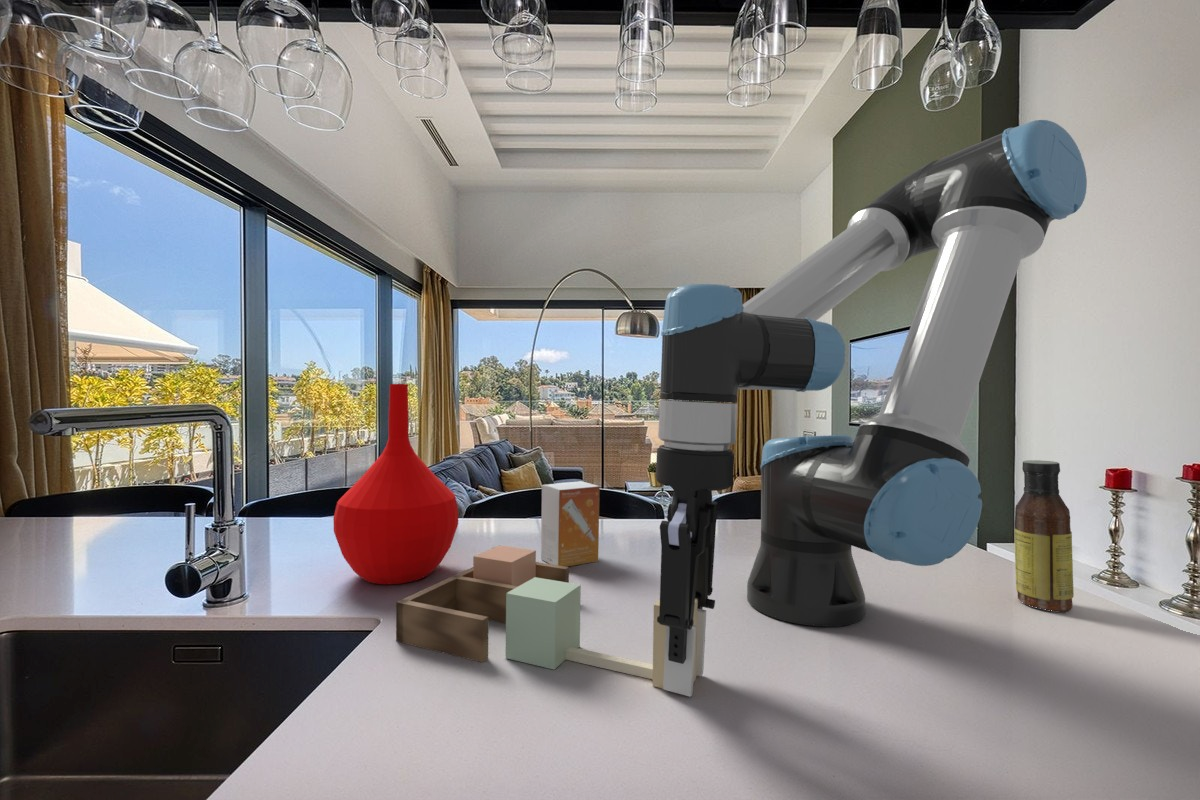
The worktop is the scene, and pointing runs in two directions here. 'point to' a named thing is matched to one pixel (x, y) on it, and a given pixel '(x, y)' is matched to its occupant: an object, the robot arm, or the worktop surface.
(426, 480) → the vase
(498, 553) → the terracotta block
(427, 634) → the lane rack
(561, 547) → the small box
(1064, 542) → the sauce bottle
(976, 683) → the worktop surface
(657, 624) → the tethered block
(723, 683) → the worktop surface
